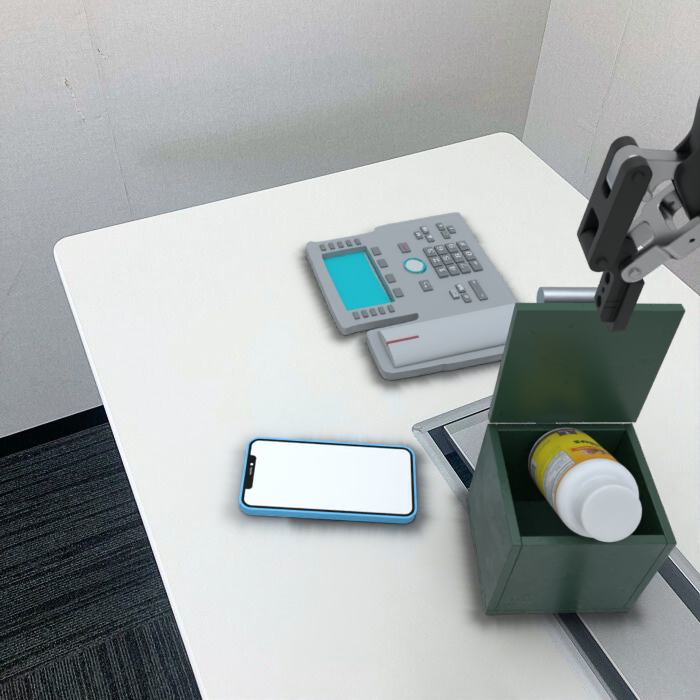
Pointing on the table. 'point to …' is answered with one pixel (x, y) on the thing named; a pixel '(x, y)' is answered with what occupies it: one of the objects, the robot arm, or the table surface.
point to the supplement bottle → (585, 485)
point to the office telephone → (416, 295)
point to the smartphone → (329, 480)
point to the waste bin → (558, 530)
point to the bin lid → (579, 360)
